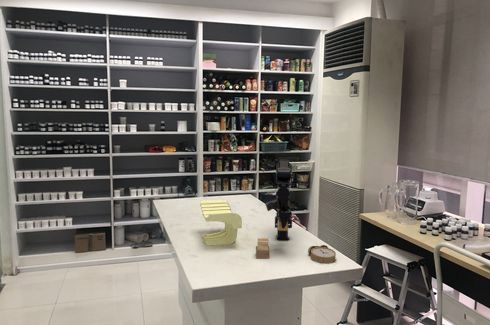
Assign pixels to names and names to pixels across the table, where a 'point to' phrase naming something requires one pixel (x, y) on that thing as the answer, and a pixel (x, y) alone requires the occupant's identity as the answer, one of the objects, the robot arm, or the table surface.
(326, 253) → the alarm clock
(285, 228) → the grey-faced wooden cube
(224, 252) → the table surface
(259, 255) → the walnut block
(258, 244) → the oak block
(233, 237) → the slatted curved stool
